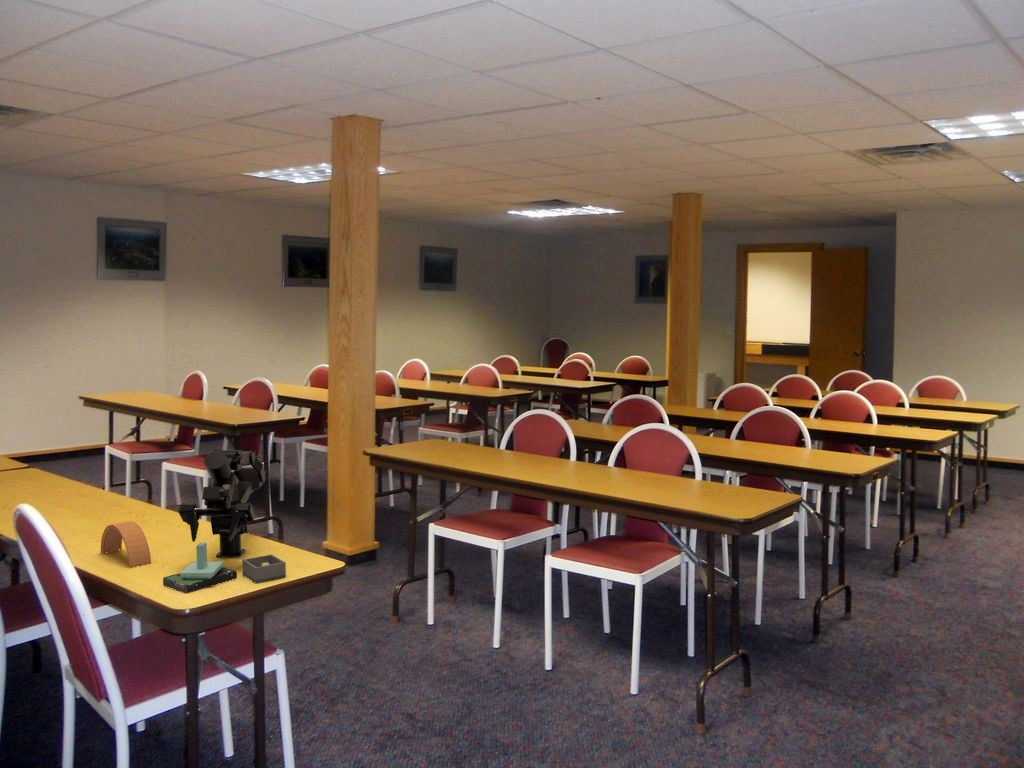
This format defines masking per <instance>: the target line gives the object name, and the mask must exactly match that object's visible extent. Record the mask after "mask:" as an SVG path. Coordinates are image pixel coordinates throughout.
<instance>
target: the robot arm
mask: <svg viewBox="0 0 1024 768" xmlns="http://www.w3.org/2000/svg"><path fill="white" fill-rule="evenodd" d="M213 449H214V450H213V451H212V452H210V453H208V455H206V457H204V461H203V463H204V466H205V469H206V471H207V473H208V475H209V477H210V479H212V482H211V486H203V487H202V496H201V500H204V501H203V504H204V506H206V507H200V508H199V507H198V506H197V504H196V503H194V502H193V503H188V502H187V503H182V504H180V505H179V507H178V511H177V512H178V515H179V516H180V518H181V520H182V522H183V523H186V524H187V525H188V526H189V529H190V535H191V541H192V543H193V542H194V543H195V542H196V539H197V534H198V531H199V525H200V522H199V521H200V517H208V516H209V517H210V525H211V533H212V536H213V535H219V552H218V553H217V554H215V557H216V558H238V557H241V556H242V554H243V553H244V552H245V551H246V549H245V548H242V541H241V540H242V536H243V535H244V534H247V533H249V531H248V529H249V527H248V525H249V523H253V522H254V521H255V510H254V507H253V505H252V504H251V503H250V502H248V500H249V498H250V496H251V494H252V492H254V491H255V490H258V489H260V488H261V487H262V485H263V484H264V483H265V482H266V472H265V467H264V463H262V462H261V461H260V460H259V459H258V458H257V457H256V453H255V452H254V451H252V450H249V451H248V450H240V449H222V448H213ZM247 465H249V466H250V465H251V467H244V466H247ZM235 484H236V485H235Z"/></svg>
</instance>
